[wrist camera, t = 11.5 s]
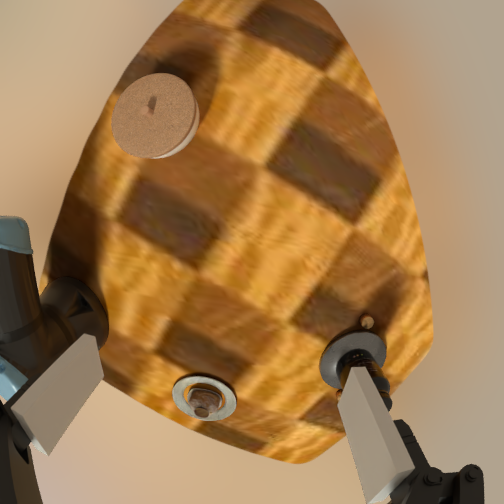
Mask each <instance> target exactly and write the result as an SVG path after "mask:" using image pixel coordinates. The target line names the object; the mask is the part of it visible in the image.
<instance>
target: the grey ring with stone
mask: <svg viewBox="0 0 504 504" xmlns="http://www.w3.org/2000/svg"><path fill="white" fill-rule="evenodd" d="M194 383H206V384H210V385H212V386H215V387H216V388H218V389H219V390H220V391H221V392H222V393H223V394H224V396H225V404H224V406H223V407H222V408H221V409H219V410H218V408H219V407H220V406H221V404H222V399H221V396H220V395H219V394H217V393H215V392H213V391H210V390H207V389H200V388H193V389H191V390H190V391H189V393H188V396H187V398H188V403H189V404H188V403H187V402H186V401H185V399H184V396H183V393H184V390H185V388H186V387H187V386H189V385H191V384H194ZM216 394H217V395H218V396H217V395H216ZM172 396H173V399H174V402H175V404H176V405H177V406H178V408H179V409H180V410H182V411H183V412H184V413H186V414H188V415H189V416H191V417H194V418H197V419H200V420H205V421H214V420H221V419H223V418H226V417H228V416H229V415H231V414H232V413H233V412H234V410H235V407H236V398H235V395H234V393H233V392H232V391H231V390H230V389H229V388H228V387H227V386H226V385H224V384H223V383H221V382H220V381H217V380H215V379H212V378H209V377H204V376H191V377H186V378H184V379H181V380H179V381H178V382H177V383H176V384H175V385H174V387H173V392H172Z"/></svg>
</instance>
